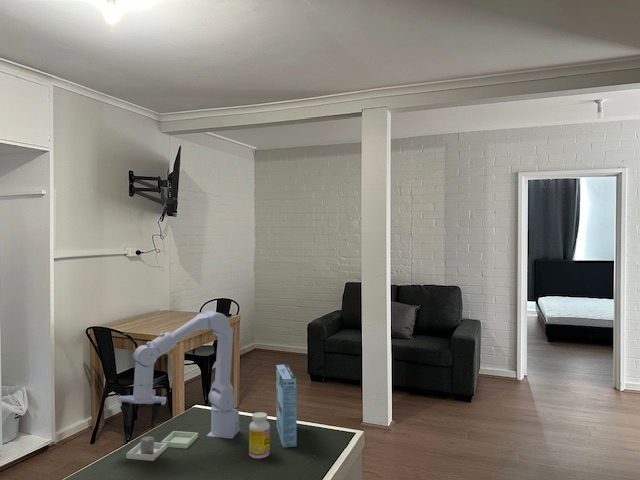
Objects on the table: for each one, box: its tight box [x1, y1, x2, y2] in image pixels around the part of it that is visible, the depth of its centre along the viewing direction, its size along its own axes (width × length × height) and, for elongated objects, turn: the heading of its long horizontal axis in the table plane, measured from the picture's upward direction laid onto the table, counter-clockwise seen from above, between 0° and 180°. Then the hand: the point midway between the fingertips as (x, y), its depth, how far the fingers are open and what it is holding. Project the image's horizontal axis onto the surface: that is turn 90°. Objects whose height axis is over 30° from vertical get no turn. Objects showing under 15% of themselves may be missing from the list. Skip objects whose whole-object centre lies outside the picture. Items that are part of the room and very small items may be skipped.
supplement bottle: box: [248, 411, 271, 459], centre depth 154 cm, size 7×7×13 cm
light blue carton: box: [275, 364, 298, 448], centre depth 169 cm, size 20×5×23 cm, turn 11°
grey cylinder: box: [140, 436, 155, 455], centre depth 153 cm, size 4×4×5 cm
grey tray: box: [125, 441, 168, 462], centre depth 153 cm, size 9×9×2 cm
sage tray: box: [160, 430, 199, 449], centre depth 162 cm, size 9×9×2 cm
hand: (140, 426), depth 153 cm, fingers open, 7 cm apart
